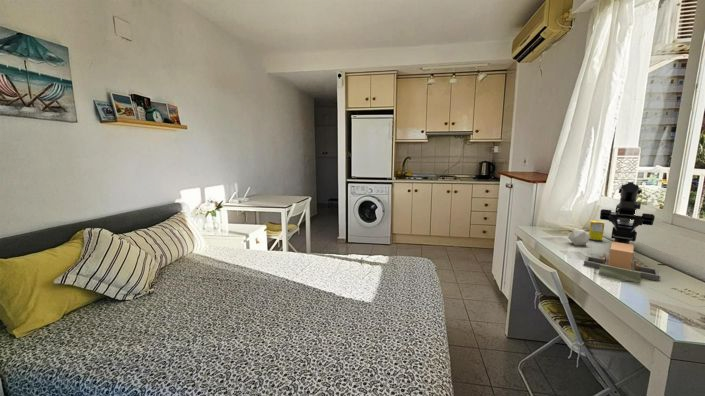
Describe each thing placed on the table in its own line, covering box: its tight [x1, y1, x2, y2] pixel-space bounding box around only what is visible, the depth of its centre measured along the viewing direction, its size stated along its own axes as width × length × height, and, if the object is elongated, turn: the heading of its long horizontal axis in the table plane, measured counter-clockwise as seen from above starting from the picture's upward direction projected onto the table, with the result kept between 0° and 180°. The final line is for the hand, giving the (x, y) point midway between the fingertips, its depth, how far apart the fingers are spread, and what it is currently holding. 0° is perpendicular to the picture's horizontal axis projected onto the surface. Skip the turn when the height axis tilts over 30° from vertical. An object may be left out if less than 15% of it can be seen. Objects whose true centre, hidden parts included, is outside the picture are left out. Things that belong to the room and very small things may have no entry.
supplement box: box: [588, 219, 605, 243], centre depth 164 cm, size 6×6×11 cm
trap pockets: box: [583, 255, 661, 282], centre depth 122 cm, size 9×23×2 cm, turn 46°
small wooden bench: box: [598, 252, 642, 284], centre depth 123 cm, size 27×12×4 cm, turn 136°
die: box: [567, 229, 590, 246], centre depth 156 cm, size 8×9×10 cm
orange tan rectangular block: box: [607, 241, 635, 270], centre depth 125 cm, size 15×7×9 cm, turn 135°
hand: (623, 231), depth 134 cm, fingers open, 5 cm apart
